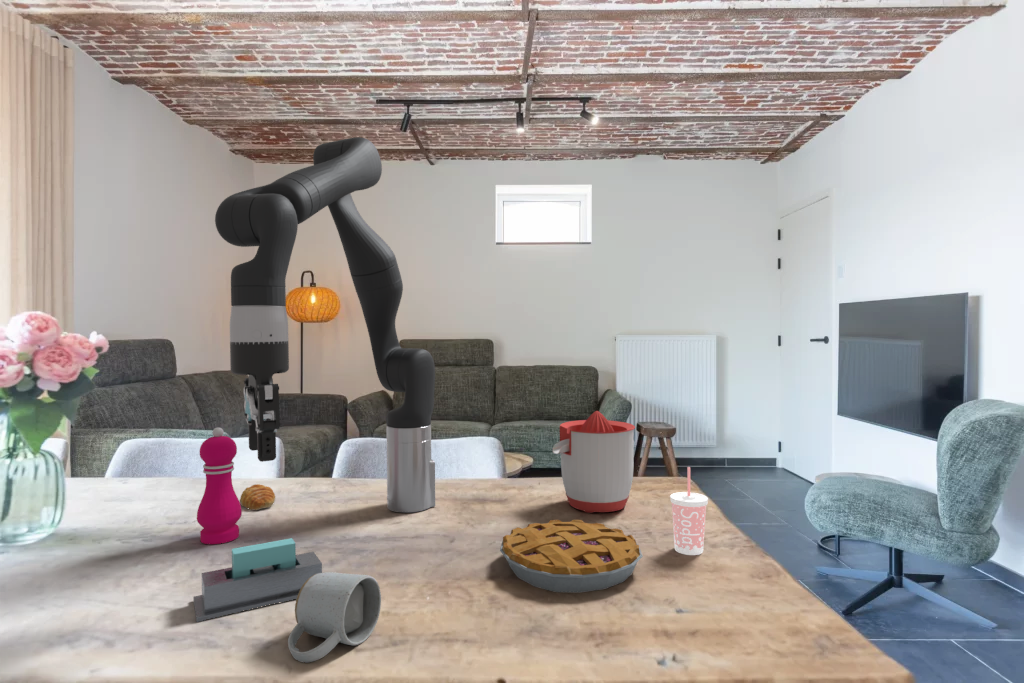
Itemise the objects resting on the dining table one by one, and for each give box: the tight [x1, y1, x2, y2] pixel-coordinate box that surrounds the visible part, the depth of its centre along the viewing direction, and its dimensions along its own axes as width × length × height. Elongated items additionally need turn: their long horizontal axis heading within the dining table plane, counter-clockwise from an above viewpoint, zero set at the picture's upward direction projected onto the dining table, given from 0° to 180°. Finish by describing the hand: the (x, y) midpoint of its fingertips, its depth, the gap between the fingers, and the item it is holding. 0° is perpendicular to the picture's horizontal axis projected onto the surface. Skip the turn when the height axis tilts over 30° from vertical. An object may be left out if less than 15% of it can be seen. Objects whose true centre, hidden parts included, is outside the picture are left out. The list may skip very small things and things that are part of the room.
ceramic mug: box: [287, 571, 382, 664], centre depth 72 cm, size 11×8×8 cm
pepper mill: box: [196, 426, 243, 545], centre depth 107 cm, size 7×7×20 cm
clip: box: [231, 537, 297, 578], centre depth 84 cm, size 8×2×6 cm, turn 121°
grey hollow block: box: [192, 551, 323, 623], centre depth 84 cm, size 17×7×4 cm, turn 121°
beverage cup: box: [669, 466, 709, 556], centre depth 101 cm, size 6×6×14 cm
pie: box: [499, 519, 643, 594], centre depth 94 cm, size 22×22×5 cm
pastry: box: [239, 483, 276, 511], centre depth 128 cm, size 9×7×4 cm
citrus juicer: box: [552, 410, 636, 514], centre depth 126 cm, size 16×17×20 cm
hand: (261, 454), depth 84 cm, fingers open, 8 cm apart
